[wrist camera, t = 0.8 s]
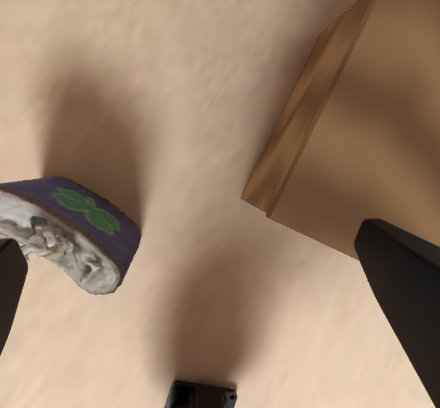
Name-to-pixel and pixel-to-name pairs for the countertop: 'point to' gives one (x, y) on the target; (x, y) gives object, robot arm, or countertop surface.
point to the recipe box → (360, 129)
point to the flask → (70, 230)
